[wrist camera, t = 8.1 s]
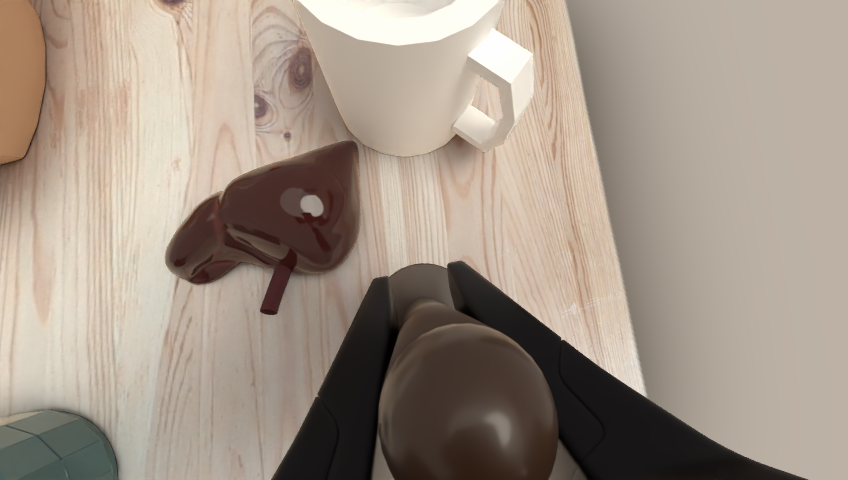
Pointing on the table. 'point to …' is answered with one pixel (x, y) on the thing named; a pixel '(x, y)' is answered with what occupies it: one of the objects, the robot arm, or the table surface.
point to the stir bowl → (54, 448)
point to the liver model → (275, 221)
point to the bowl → (19, 77)
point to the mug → (418, 70)
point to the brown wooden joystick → (460, 393)
